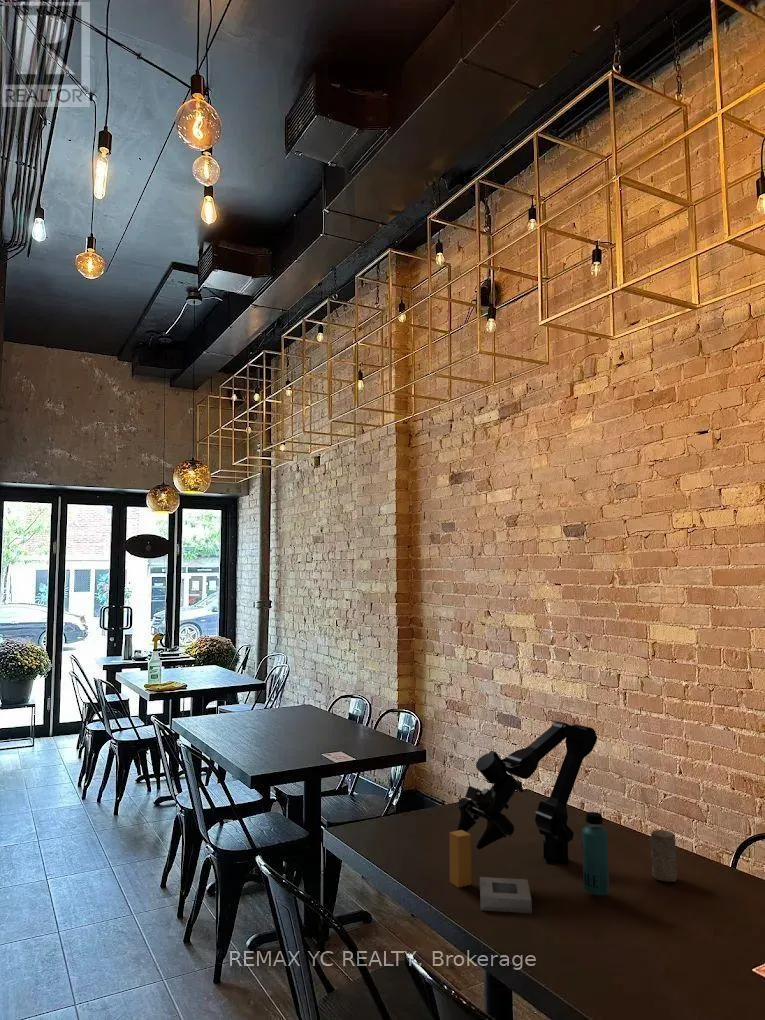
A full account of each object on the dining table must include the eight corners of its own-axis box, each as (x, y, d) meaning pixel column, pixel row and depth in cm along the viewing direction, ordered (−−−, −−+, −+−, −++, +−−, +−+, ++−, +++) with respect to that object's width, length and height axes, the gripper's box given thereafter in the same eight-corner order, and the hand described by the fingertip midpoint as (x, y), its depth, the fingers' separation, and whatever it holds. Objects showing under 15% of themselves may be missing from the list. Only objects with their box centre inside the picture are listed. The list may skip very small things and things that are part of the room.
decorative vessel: (678, 876, 188) (676, 830, 189) (677, 887, 181) (675, 838, 182) (653, 872, 190) (651, 826, 192) (651, 882, 183) (649, 835, 185)
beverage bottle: (610, 892, 177) (607, 810, 180) (609, 903, 171) (607, 818, 173) (583, 889, 179) (581, 807, 182) (582, 899, 173) (580, 815, 175)
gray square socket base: (527, 892, 177) (527, 879, 178) (531, 913, 165) (531, 900, 166) (479, 889, 179) (479, 876, 179) (480, 910, 167) (480, 896, 167)
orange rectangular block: (462, 879, 185) (461, 829, 186) (471, 884, 181) (470, 834, 183) (449, 882, 183) (449, 832, 184) (458, 887, 180) (458, 836, 181)
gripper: (462, 767, 197) (429, 813, 190) (505, 783, 181) (471, 834, 174) (484, 793, 200) (453, 839, 193) (528, 811, 184) (495, 862, 177)
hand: (467, 842), depth 184 cm, fingers open, 9 cm apart
